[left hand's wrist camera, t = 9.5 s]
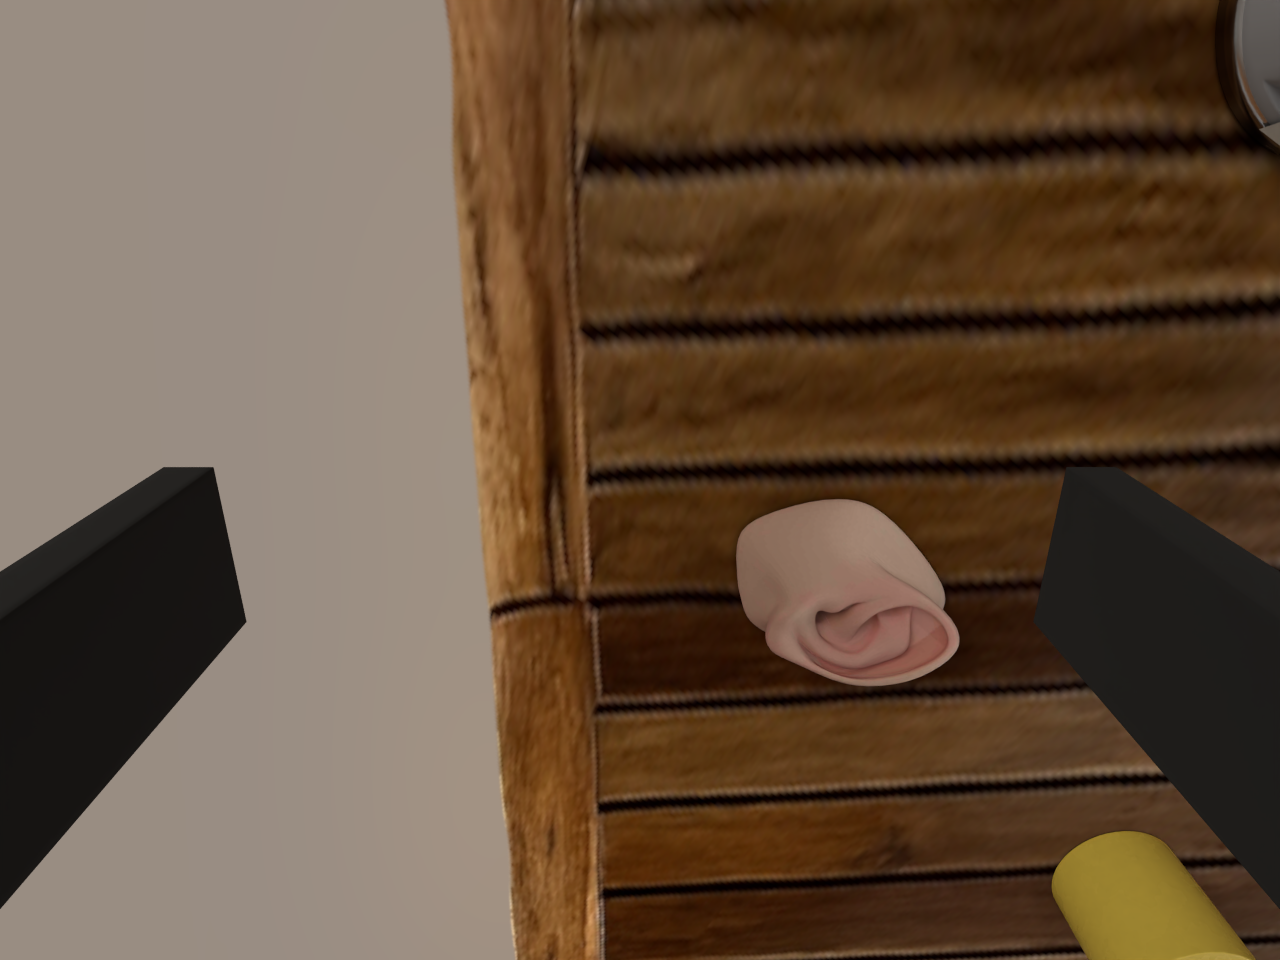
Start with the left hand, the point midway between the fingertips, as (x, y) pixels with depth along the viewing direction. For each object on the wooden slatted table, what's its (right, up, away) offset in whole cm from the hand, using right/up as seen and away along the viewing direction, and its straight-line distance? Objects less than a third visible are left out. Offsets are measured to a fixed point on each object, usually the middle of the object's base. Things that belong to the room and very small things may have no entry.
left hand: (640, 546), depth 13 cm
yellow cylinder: (+36, -29, +47) cm, 66 cm away
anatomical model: (+12, -6, +38) cm, 40 cm away
